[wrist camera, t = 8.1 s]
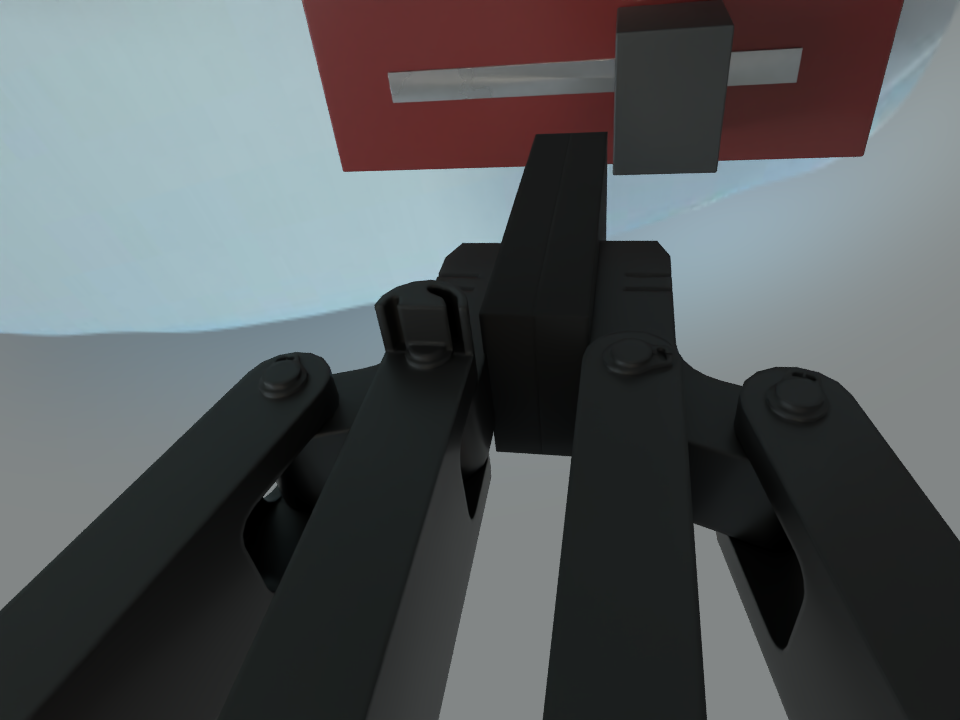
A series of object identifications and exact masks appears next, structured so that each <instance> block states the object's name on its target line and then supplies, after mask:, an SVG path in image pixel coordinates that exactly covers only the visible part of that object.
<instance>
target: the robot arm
mask: <svg viewBox="0 0 960 720" xmlns="http://www.w3.org/2000/svg"><path fill="white" fill-rule="evenodd" d="M607 143H608V132H584V133H556V134H536V135H535V138H534V141H533V144H532V147H531V150H530V154H529V157H528V160H527V163H526V166H525V169H524V173H523V176H522V179H521V182H520V185H519V188H518V192H517V195H516V198H515V201H514V204H513V207H512V211H511V214H510V217H509V220H508V223H507V226H506V230H505V233H504V236H503V239H502V242H501V243H462V244H461V245H460V246H459V247H457V248H456V249H455V250H454V251H453V252H452V253H450V254H449V255H448V256H447V257H446V258H445V260H444V263H443V265H442V267H441V270H440V272H439V277H437V279H436V280H426V281H415V282H411V283H408V284H405V285H401V286H398V287H396V288H394V289H392V290H391V291H389V292H387V293H386V294H384V295H383V296H382V297H381V298H380V299H379V300H378V302H377V303H376V304H375V310H376V314H377V318H378V322H379V326H380V330H381V334H382V338H383V343H384V346H385V351H386V352H385V355H384V357H383V359H382V361H381V363H380V364H377V365H375V366H371V367H367V368H363V369H358V370H353V371H347V372H342V373H337V374H332V372H331V369H330V367H329V365H328V364H327V363H326V361H325V360H324V359H323V358H322V357H319V356H317V355H314V354H312V353H301V352H294V353H288V354H283V355H278V356H276V357H273V358H271V359H269V360H266V361H264V362H262V363H260V364H259V365H258V366H256V367H255V368H254V369H252V370H251V371H249V372H248V373H247V374H246V375H245V376H244V377H243V378H242V379H241V380H240V381H239V382H238V383H237V384H236V385H235V386H234V387H233V388H232V389H230V390H229V391H228V392H227V393H226V394H225V395H224V396H223V397H222V398H221V399H220V400H219V401H218V402H217V403H216V404H215V405H214V406H213V407H212V408H211V409H210V410H209V411H208V412H207V413H206V414H204V415H203V416H202V417H201V418H200V419H199V420H198V421H197V422H196V423H195V424H194V425H193V426H192V427H191V428H190V429H189V430H188V431H187V432H186V433H185V434H184V435H183V436H182V437H181V438H179V439H178V440H177V441H176V442H175V443H174V444H173V445H172V446H171V447H170V448H169V449H168V450H167V451H166V452H165V453H164V454H163V455H162V456H161V457H160V458H159V459H158V460H157V461H156V462H155V463H154V464H152V465H151V466H150V467H149V468H148V469H147V470H146V471H145V472H144V473H143V474H142V475H141V476H140V477H139V478H138V479H137V480H136V481H135V482H134V483H133V484H132V485H131V486H130V487H129V488H127V489H126V490H125V491H124V492H123V493H122V494H121V495H120V496H119V497H118V498H117V499H116V500H115V501H114V502H113V503H112V504H111V505H110V506H109V507H108V508H107V509H106V510H105V511H104V512H102V514H100V516H98V517H97V518H96V519H95V520H94V521H93V522H92V523H91V524H90V525H89V526H88V527H87V528H86V529H85V530H84V531H83V532H82V533H81V534H80V535H79V536H78V537H76V538H75V539H74V541H72V542H71V543H70V544H69V545H68V546H67V547H66V548H65V549H64V550H63V551H62V552H61V553H60V554H59V555H58V556H57V557H56V558H55V559H54V560H53V561H52V562H51V563H49V564H48V565H47V566H46V567H45V568H44V569H43V570H42V571H41V572H40V573H39V574H38V575H37V576H36V577H35V578H34V579H33V580H32V581H31V582H30V583H29V584H28V585H27V586H26V587H25V588H23V589H22V590H21V591H20V592H19V593H18V594H17V595H16V596H15V597H14V598H13V599H12V600H11V601H10V602H9V603H8V604H7V605H6V606H5V607H4V608H3V609H2V610H1V611H0V720H438V719H439V714H440V709H441V705H442V700H443V696H444V691H445V687H446V682H447V678H448V673H449V668H450V664H451V659H452V655H453V650H454V645H455V641H456V636H457V631H458V627H459V623H460V618H461V613H462V608H463V604H464V600H465V595H466V590H467V586H468V581H469V576H470V571H471V567H472V563H473V558H474V553H475V549H476V544H477V539H478V535H479V531H480V526H481V521H482V517H483V512H484V508H485V503H486V498H487V494H488V489H489V485H490V480H491V465H490V458H489V449H490V445H491V440H492V436H493V432H494V437H495V444H496V451H497V452H513V453H528V454H544V455H559V456H560V455H561V456H572V458H571V467H570V477H569V486H568V494H567V503H566V512H565V522H564V531H563V540H562V549H561V558H560V567H559V577H558V585H557V595H556V604H555V613H554V622H553V632H552V641H551V649H550V659H549V668H548V677H547V686H546V695H545V704H544V713H543V720H707V715H706V700H705V685H704V670H703V657H702V641H701V628H700V612H699V600H698V599H699V598H698V583H697V569H696V554H695V541H694V526H693V523H695V524H697V525H700V526H703V527H706V528H709V529H712V530H714V531H716V535H717V540H718V542H719V545H720V547H721V550H722V552H723V555H724V557H725V560H726V562H727V565H728V567H729V570H730V573H731V575H732V578H733V580H734V583H735V585H736V588H737V590H738V593H739V595H740V598H741V600H742V603H743V605H744V608H745V610H746V613H747V615H748V618H749V620H750V623H751V626H752V628H753V631H754V633H755V635H756V638H757V640H758V643H759V645H760V648H761V651H762V653H763V656H764V658H765V661H766V663H767V666H768V668H769V671H770V673H771V676H772V678H773V681H774V683H775V686H776V688H777V691H778V693H779V696H780V698H781V701H782V704H783V706H784V709H785V711H786V714H787V716H788V719H789V720H960V541H959V540H958V538H957V537H956V536H955V534H954V533H953V532H952V530H951V529H950V527H949V526H948V525H947V523H946V522H945V521H944V519H943V518H942V517H941V515H940V514H939V512H938V511H937V510H936V509H935V507H934V506H933V504H932V503H931V502H930V500H929V499H928V498H927V496H926V495H925V494H924V492H923V491H922V489H921V488H920V487H919V485H918V484H917V483H916V482H915V480H914V479H913V477H912V476H911V474H910V473H909V472H908V470H907V469H906V468H905V466H904V465H903V464H902V462H901V461H900V460H899V458H898V457H897V455H896V454H895V453H894V451H893V450H892V449H891V448H890V446H889V445H888V443H887V442H886V441H885V439H884V438H883V437H882V435H881V434H880V432H879V431H878V430H877V428H876V427H875V426H874V424H873V423H872V421H871V420H870V419H869V418H868V416H867V415H866V413H865V412H864V411H863V409H862V408H861V407H860V405H859V404H858V402H857V401H856V400H855V398H854V397H853V396H852V395H851V394H850V393H849V392H848V391H847V390H846V389H845V388H844V387H843V386H842V385H840V383H839V382H837V381H835V380H833V379H831V378H829V377H827V376H825V375H823V374H821V373H819V372H815V371H810V370H807V369H802V368H798V367H774V368H770V369H766V370H762V371H758V372H756V373H755V374H754V375H752V376H751V377H749V378H748V379H747V380H746V381H745V382H744V384H743V386H740V385H736V384H732V383H728V382H724V381H720V380H718V379H715V378H712V377H709V376H706V375H704V374H702V373H701V372H699V371H697V370H695V369H693V368H692V367H691V366H690V365H688V364H687V363H686V362H685V361H684V360H683V358H682V357H681V355H680V354H679V352H678V349H677V346H676V338H675V322H674V307H673V292H672V278H671V260H670V255H669V254H668V253H667V252H666V251H665V249H664V248H663V247H662V246H661V245H660V244H659V243H658V241H606V207H607ZM275 482H276V483H277V487H276V488H275V489H274V490H273V491H272V492H271V493H270V494H269V495H267V496H266V497H265V498H263V496H264V495H265V493H266V492H267V491H268V490H269V489H270V488H271V486H272V485H273V484H274V483H275Z"/></svg>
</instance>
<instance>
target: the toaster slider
mask: <svg viewBox="0 0 960 720" xmlns="http://www.w3.org/2000/svg"><path fill="white" fill-rule="evenodd" d="M734 27H735V26H734V24H733V21H732V19H731V17H730V15H729V13H728V11H727V9H726V7H725V5H724V3H723V0H711V1H698V2H685V3H671V4H658V5H645V6H631V7H619V8H618V9H617V22H616V41H615V88H614V135H613V175H640V174H678V173H715V172H716V171H717V166H718V158H719V150H720V141H721V133H722V125H723V117H724V109H725V101H726V93H727V84H728V76H729V68H730V60H731V52H732V44H733V36H734Z"/></svg>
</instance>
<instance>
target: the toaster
mask: <svg viewBox="0 0 960 720" xmlns="http://www.w3.org/2000/svg"><path fill="white" fill-rule="evenodd" d="M698 1H711V0H302V3H303V7H304V11H305V15H306V19H307V23H308V28H309V32H310V36H311V40H312V44H313V48H314V52H315V57H316V61H317V65H318V69H319V73H320V77H321V81H322V86H323V90H324V94H325V98H326V102H327V106H328V110H329V114H330V119H331V123H332V127H333V131H334V135H335V139H336V143H337V148H338V152H339V156H340V160H341V164H342V168H343V171H344V172H352V171H386V170H420V169H454V168H488V167H522V166H526V163H527V160H528V157H529V154H530V150H531V147H532V144H533V141H534V138H535V135H536V134H556V133H584V132H608V143H607V164H613V135H614V88H615V41H616V22H617V9H618V8H619V7H631V6H645V5H658V4H671V3H685V2H698ZM723 3H724V5H725V7H726V9H727V11H728V13H729V15H730V17H731V19H732V21H733V24H734V26H735V27H734V36H733V44H732V52H731V60H730V68H729V76H728V84H727V93H726V101H725V109H724V117H723V125H722V133H721V141H720V150H719V158H718V161H726V160H760V159H794V158H828V157H860V156H863V155H864V151H865V148H866V144H867V140H868V137H869V133H870V129H871V125H872V121H873V117H874V114H875V110H876V106H877V102H878V98H879V95H880V91H881V87H882V83H883V79H884V75H885V72H886V68H887V64H888V60H889V56H890V53H891V49H892V45H893V41H894V37H895V33H896V30H897V26H898V22H899V18H900V14H901V11H902V7H903V3H904V0H723Z"/></svg>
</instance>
